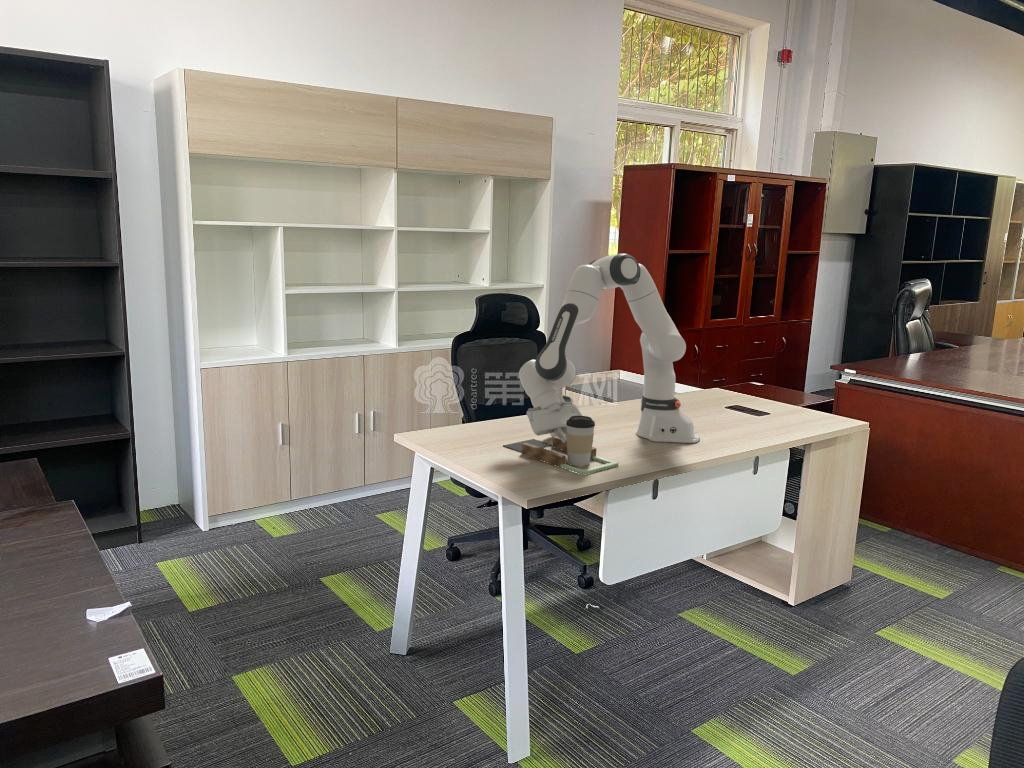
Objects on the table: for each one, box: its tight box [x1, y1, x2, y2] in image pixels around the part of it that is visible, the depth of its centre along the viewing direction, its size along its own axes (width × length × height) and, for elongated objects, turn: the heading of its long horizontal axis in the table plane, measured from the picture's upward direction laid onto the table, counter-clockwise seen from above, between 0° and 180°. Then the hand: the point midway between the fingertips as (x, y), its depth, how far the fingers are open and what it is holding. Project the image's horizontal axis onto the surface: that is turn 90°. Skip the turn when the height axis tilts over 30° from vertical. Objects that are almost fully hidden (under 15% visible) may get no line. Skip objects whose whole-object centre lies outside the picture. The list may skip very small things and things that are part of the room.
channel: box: [521, 436, 597, 468], centre depth 242 cm, size 18×16×4 cm
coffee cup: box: [566, 415, 596, 467], centre depth 234 cm, size 9×9×15 cm
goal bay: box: [561, 455, 619, 476], centre depth 232 cm, size 10×16×1 cm, turn 131°
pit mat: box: [502, 438, 552, 453], centre depth 253 cm, size 9×14×1 cm, turn 131°
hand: (568, 441), depth 238 cm, fingers closed, pressing on coffee cup
